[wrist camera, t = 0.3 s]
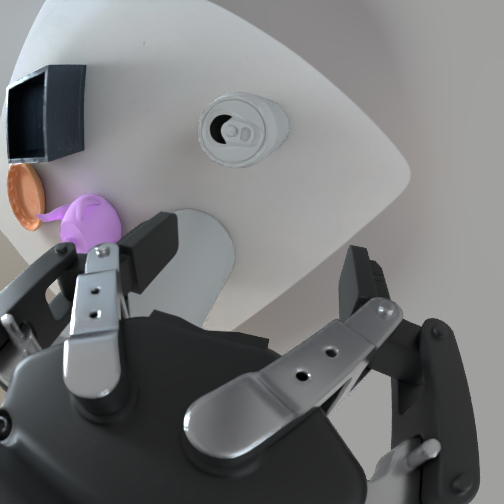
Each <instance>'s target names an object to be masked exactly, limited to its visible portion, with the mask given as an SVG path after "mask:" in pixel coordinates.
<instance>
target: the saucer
mask: <svg viewBox="0 0 504 504" xmlns="http://www.w3.org/2000/svg"><path fill="white" fill-rule="evenodd" d="M7 191H8V197H9V202H10V205H11V208H12V210H13V213H14V215H15V217H16V218H17V220H18V222H19V223H20V224H21V225H22V226H23V227H24V228H25V229H26V230H29V231H35V230H36V229H38V228H39V227H40V225H41V224H42V221H41V220H40V219H38V218H37V216H36V214H44V212H45V193H44V189H43V185H42V182H41V179H40V177H39V175H38V173H37V172H36V170H35V169H34V168H33V167H32V166H31V165H30V164H28V163H18V164H12V165H11V166H10V168H9V171H8V176H7Z"/></svg>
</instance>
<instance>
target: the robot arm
mask: <svg viewBox="0 0 504 504" xmlns="http://www.w3.org/2000/svg"><path fill="white" fill-rule="evenodd" d="M178 247H179V237H178V218H177V215H176V214H175V213H168V212H159V213H158V214H157V215H155V216H154V217H153V218H151V219H150V220H148V221H145V222H143V223H141V224H139V225H138V226H137V227H135V229H133V230H131V231H130V233H128V234H126V235H125V236H124V237H122V238H121V239H120V240H119V241H117V242H116V243H110V242H106V243H100V244H97V245H95V246H93V247H92V248H91V249H90V250H89V251H88V253H77V251H76V246H75V244H74V243H72V242H64V243H60V244H57V245H55V246H54V247H52V248H51V249H50V250H49V251H47V252H46V253H45V254H43V255H42V256H41V257H40V258H39V259H37V260H36V261H35V262H34V263H33V264H31V265H30V266H29V267H28V268H27V269H25V270H24V271H23V272H22V273H21V274H20V275H19V276H17V278H15V279H14V280H13V281H12V282H11V283H10V284H9V285H8V286H7V287H6V288H4V289H3V290H2V291H1V292H0V386H1V387H2V389H3V390H5V391H6V396H5V399H4V402H3V404H2V406H1V408H0V504H468V503H469V502H471V501H472V500H473V498H474V497H475V495H476V493H477V491H478V489H479V484H480V467H479V452H478V442H477V433H476V425H475V419H474V413H473V407H472V403H471V397H470V392H469V387H468V383H467V379H466V374H465V371H464V367H463V363H462V359H461V356H460V352H459V349H458V346H457V342H456V339H455V336H454V333H453V331H452V329H451V328H450V327H449V326H448V325H447V324H446V323H444V322H443V321H441V320H439V319H435V318H430V319H427V320H425V322H424V323H423V325H422V327H421V326H419V325H416V324H413V323H411V322H409V321H407V320H405V319H403V312H402V310H401V308H400V307H399V306H398V305H397V304H396V303H395V302H393V301H391V299H390V296H389V292H388V288H387V285H386V283H385V278H384V274H383V271H382V268H381V267H380V266H379V265H378V264H377V262H376V261H373V260H370V259H369V256H368V252H367V249H366V248H363V247H358V246H353V245H350V246H349V248H348V251H347V255H346V259H345V262H344V265H343V269H342V272H341V276H340V280H339V319H335V320H333V321H331V322H330V323H329V324H327V325H326V326H325V327H323V328H322V329H320V330H319V331H318V332H316V333H315V334H314V335H312V336H311V337H309V338H308V339H307V340H305V341H304V342H302V343H301V344H299V345H298V346H296V347H295V348H294V349H292V350H291V351H289V352H288V353H286V354H285V355H283V356H281V355H279V354H278V353H276V352H275V351H273V350H271V349H268V343H269V339H267V338H262V337H257V336H253V335H248V334H244V333H240V332H224V331H208V330H204V329H202V328H200V327H198V326H196V325H194V324H192V323H190V322H188V321H186V320H185V319H183V318H181V317H179V316H175V315H172V314H168V313H165V312H162V311H158V310H155V309H154V310H153V312H152V313H151V314H150V316H149V317H146V316H139V317H131V310H130V301H129V296H128V294H129V293H130V292H133V293H136V294H139V295H141V294H142V293H143V291H144V290H145V289H146V288H147V287H148V286H149V285H150V283H151V282H152V281H153V280H154V279H155V278H156V277H157V275H158V274H159V273H160V272H161V271H162V270H163V269H164V267H165V266H166V265H167V264H168V263H169V262H170V261H171V260H172V259H173V257H174V256H175V255H176V253H177V251H178ZM56 279H57V281H58V284H59V287H60V290H61V292H60V293H59V294H58V295H57V296H56V297H55V298H54V299H53V300H52V301H51V302H50V303H49V304H48V303H47V301H46V298H45V292H46V289H47V288H48V287H49V286H50V285H51V284H52V283H53V282H54V281H55V280H56ZM70 322H71V328H70V336H69V337H67V338H66V340H65V342H62V343H60V344H57V345H54V346H51V345H52V344H53V343H54V341H55V340H56V339H57V338H58V336H59V335H60V334H61V333H62V331H63V330H64V329H65V328H66V326H67V325H68V324H69V323H70ZM50 346H51V347H50ZM372 370H376V371H378V372H380V373H383V374H385V375H388V376H390V377H391V387H392V388H391V389H392V438H391V451H390V452H388V453H387V454H385V455H384V456H383V457H382V458H381V459H380V460H379V462H378V464H377V465H376V469H375V473H374V475H373V477H372V478H371V479H370V480H367V479H366V475H365V473H364V470H363V468H362V467H361V465H360V464H359V462H358V461H357V459H356V458H355V457H354V455H353V454H352V452H351V451H350V449H349V448H348V447H347V445H346V444H345V442H344V441H343V439H342V438H341V436H340V435H339V433H338V432H337V430H336V429H335V427H334V426H333V425H332V423H331V422H330V420H329V419H328V417H330V416H331V415H332V414H333V413H334V412H335V410H336V409H337V408H338V407H339V406H340V405H341V403H342V402H343V401H344V400H345V399H346V398H347V397H348V396H349V395H350V394H351V393H352V392H353V391H354V390H355V388H356V387H358V385H359V384H360V383H361V382H362V381H363V380H364V379H365V378H366V377H367V375H368V374H369V373H370V372H371V371H372Z"/></svg>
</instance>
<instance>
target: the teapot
mask: <svg viewBox="0 0 504 504" xmlns="http://www.w3.org/2000/svg"><path fill="white" fill-rule="evenodd" d="M36 216H37V218H38V219H40V220H41V221H45V222H48V221H53V220H57V219H62V223H61V227H60V238H61V242H62V243H64V242H72V243H74V244H75V246H76V251H77V253H88V251H89V250H90V249H91V248H92V247H93V246H95V245H97V244H100V243H106V242H110V243H116V242H117V241H119V240H120V239H121V236H122V230H121V223H120V219H119V216H118V214H117V212H116V210H115V209H114V208H113V206H112V205H111V204H110V203H109V202H108V201H106V200H105V199H104V198H102V197H100V196H98V195H95V194H85V195H82V196H81V197H79V198H78V199H76V200H75V201H74V202H73V203H72V204H71V205H62V206H60V207H58V208H57V209H55V210H54V211H52V212H50V213H48V214H36Z"/></svg>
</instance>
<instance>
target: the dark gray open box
mask: <svg viewBox="0 0 504 504" xmlns="http://www.w3.org/2000/svg"><path fill="white" fill-rule="evenodd" d="M85 74H86V65H48V66H45V67H43V68H41V69H39V70H37V71H35V72H33V73H31V74H29V75H27V76H25V77H23V78H21V79H19V80H17V81H16V82H14V83H12V84H10V85H9V86H7V92H6V139H7V153H8V163H9V164H18V163H40V162H50V161H53V160H56V159H59V158H62V157H65V156H68V155H71V154H74V153H77V152H80V151H83V150H84V88H85Z"/></svg>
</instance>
